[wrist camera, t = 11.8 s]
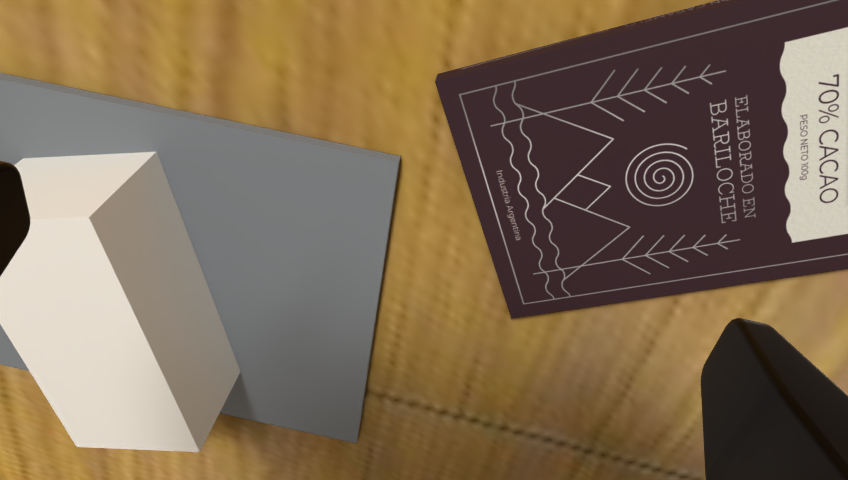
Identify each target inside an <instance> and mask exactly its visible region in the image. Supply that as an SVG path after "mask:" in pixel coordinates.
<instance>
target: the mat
mask: <svg viewBox="0 0 848 480" xmlns="http://www.w3.org/2000/svg"><path fill="white" fill-rule="evenodd" d="M139 152H157V154H158V157H159V160H160V162H161V165H162V167H163V170H164V173H165V175H166V178H167V180H168V183H169V186H170V188H171V191H172V194H173V196H174V199H175V201H176V204H177V207H178V209H179V212H180V214H181V217H182V220H183V222H184V225H185V228H186V230H187V233H188V235H189V238H190V241H191V243H192V246H193V249H194V251H195V254H196V256H197V259H198V262H199V264H200V267H201V269H202V272H203V275H204V277H205V280H206V283H207V285H208V288H209V290H210V293H211V296H212V298H213V301H214V303H215V306H216V309H217V311H218V314H219V317H220V319H221V322H222V324H223V327H224V330H225V332H226V335H227V337H228V340H229V343H230V345H231V348H232V351H233V353H234V356H235V358H236V361H237V364H238V366H239V369H240V371H241V372H240V374H239V376H238V378H237V380H236V382H235V384H234V385H233V387H232V389H231V391H230V393H229V395H228V397H227V399H226V401H225V403H224V405H223V407H222V409H221V411H220V413H221V414H226V415H230V416H235V417H239V418H244V419H248V420H253V421H257V422H262V423H266V424H271V425H275V426H280V427H284V428H289V429H293V430H298V431H302V432H307V433H311V434H316V435H320V436H325V437H330V438H334V439H339V440H343V441H348V442H352V443H357V440H358V436H359V430H360V423H361V417H362V410H363V403H364V397H365V390H366V384H367V377H368V370H369V364H370V357H371V351H372V344H373V337H374V331H375V324H376V318H377V311H378V304H379V298H380V291H381V285H382V278H383V271H384V265H385V258H386V251H387V245H388V238H389V232H390V225H391V218H392V212H393V205H394V199H395V192H396V185H397V179H398V172H399V166H400V159H401V156H397V155H392V154H387V153H383V152H378V151H373V150H368V149H363V148H359V147H354V146H349V145H344V144H339V143H335V142H330V141H325V140H320V139H315V138H311V137H306V136H301V135H296V134H291V133H287V132H282V131H277V130H272V129H267V128H263V127H258V126H253V125H248V124H244V123H239V122H234V121H229V120H224V119H220V118H215V117H210V116H205V115H200V114H196V113H191V112H186V111H181V110H176V109H172V108H167V107H162V106H157V105H152V104H148V103H143V102H138V101H133V100H128V99H124V98H119V97H114V96H109V95H104V94H100V93H95V92H90V91H85V90H80V89H76V88H71V87H66V86H61V85H56V84H52V83H47V82H42V81H37V80H32V79H28V78H23V77H18V76H13V75H9V74H4V73H0V161H4V162H9V163H11V164H13V165H15V164H16V163H18V162H19V161H20V160H22V159H23V158H40V157H60V156H80V155H100V154H120V153H139ZM0 364H1V365H5V366H10V367H14V368H19V369H23V370H28V371H29V369H28V368H27V366H26V365H25V363H24V361H23V360H22V358H21V357H20V355H19V353H18V352H17V350H16V348H15V347H14V345H13V344H12V342H11V340H10V339H9V337H8V336H7V334H6V332H5V331H4V329H3V328H2V326H1V324H0Z"/></svg>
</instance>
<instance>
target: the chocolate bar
mask: <svg viewBox="0 0 848 480" xmlns="http://www.w3.org/2000/svg"><path fill="white" fill-rule="evenodd" d="M435 83H436V86H437V89H438V92H439V95H440V98H441V101H442V104H443V108H444V111H445V114H446V117H447V120H448V123H449V126H450V129H451V132H452V135H453V139H454V142H455V145H456V148H457V151H458V154H459V157H460V160H461V163H462V167H463V170H464V173H465V176H466V179H467V182H468V185H469V188H470V191H471V194H472V198H473V201H474V204H475V207H476V210H477V213H478V216H479V219H480V222H481V225H482V229H483V232H484V235H485V238H486V241H487V244H488V247H489V250H490V253H491V256H492V260H493V263H494V266H495V269H496V272H497V275H498V278H499V281H500V284H501V287H502V291H503V294H504V297H505V300H506V303H507V306H508V309H509V312H510V315H511V318H519V317H526V316H532V315H539V314H546V313H553V312H559V311H566V310H573V309H580V308H586V307H593V306H600V305H607V304H613V303H620V302H627V301H634V300H640V299H647V298H654V297H661V296H667V295H674V294H681V293H688V292H694V291H701V290H708V289H715V288H721V287H728V286H735V285H742V284H748V283H755V282H762V281H769V280H775V279H782V278H789V277H796V276H802V275H809V274H816V273H822V272H829V271H836V270H843V269H848V0H718V1H714V2H710V3H707V4H703V5H699V6H695V7H691V8H688V9H684V10H680V11H676V12H672V13H669V14H665V15H661V16H657V17H653V18H650V19H646V20H642V21H638V22H634V23H631V24H627V25H623V26H619V27H615V28H611V29H608V30H604V31H600V32H596V33H592V34H589V35H585V36H581V37H577V38H573V39H570V40H566V41H562V42H558V43H554V44H551V45H547V46H543V47H539V48H535V49H532V50H528V51H524V52H520V53H516V54H513V55H509V56H505V57H501V58H497V59H493V60H490V61H486V62H482V63H478V64H474V65H471V66H467V67H463V68H459V69H455V70H452V71H448V72H444V73H440V74H437V77H436V80H435Z"/></svg>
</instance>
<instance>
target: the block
mask: <svg viewBox="0 0 848 480" xmlns="http://www.w3.org/2000/svg"><path fill="white" fill-rule="evenodd" d="M14 166H15V167H16V168H17V169H18V171H19V172H20V175H21V179H22V183H23V188H24V192H25V196H26V201H27V205H28V209H29V213H30V228H29V232H28V234H27V236H26V238H25V240H24V241H23V243H22V244H21V246H20V248H19V249H18V251H17V252H16V254H15V255H14V257H13V258H12V260H11V261H10V263H9V264H8V266H7V267H6V269H5V270H4V272H3V273H2V275H1V277H0V324H1V326H2V328H3V329H4V331H5V332H6V334H7V336H8V337H9V339H10V340H11V342H12V344H13V345H14V347H15V348H16V350H17V352H18V353H19V355H20V357H21V358H22V360H23V361H24V363H25V365H26V366H27V368H28V369H29V371H30V373H31V374H32V376H33V377H34V379H35V381H36V382H37V384H38V385H39V387H40V389H41V390H42V392H43V393H44V395H45V397H46V398H47V400H48V401H49V403H50V405H51V406H52V408H53V409H54V411H55V413H56V414H57V416H58V417H59V419H60V421H61V422H62V424H63V425H64V427H65V429H66V430H67V432H68V433H69V435H70V437H71V438H72V440H73V441H74V443H75V445H76V446H77V447H92V448H116V449H139V450H163V451H187V452H200V451H201V449H202V447H203V445H204V443H205V441H206V439H207V437H208V435H209V433H210V431H211V429H212V427H213V425H214V423H215V421H216V419H217V417H218V415H219V413H220V411H221V409H222V407H223V405H224V403H225V401H226V399H227V397H228V395H229V393H230V391H231V389H232V387H233V385H234V384H235V382H236V380H237V378H238V376H239V374H240V372H241V371H240V369H239V366H238V364H237V361H236V358H235V356H234V353H233V351H232V348H231V345H230V343H229V340H228V337H227V335H226V332H225V330H224V327H223V324H222V322H221V319H220V317H219V314H218V311H217V309H216V306H215V303H214V301H213V298H212V296H211V293H210V290H209V288H208V285H207V283H206V280H205V277H204V275H203V272H202V269H201V267H200V264H199V262H198V259H197V256H196V254H195V251H194V249H193V246H192V243H191V241H190V238H189V235H188V233H187V230H186V228H185V225H184V222H183V220H182V217H181V214H180V212H179V209H178V207H177V204H176V201H175V199H174V196H173V194H172V191H171V188H170V186H169V183H168V180H167V178H166V175H165V173H164V170H163V167H162V165H161V162H160V160H159V157H158V154H157V152H139V153H120V154H100V155H80V156H60V157H40V158H23V159H22V160H20V161H19V162H18V163H16V164H15V165H14Z"/></svg>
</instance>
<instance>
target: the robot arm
mask: <svg viewBox="0 0 848 480" xmlns="http://www.w3.org/2000/svg"><path fill="white" fill-rule="evenodd" d="M29 228H30V213H29V209H28V205H27V201H26V196H25V192H24V188H23V183H22V179H21V175H20V172H19V171H18V169H17V168H16V167H15V166H14V165H13V164H11V163H9V162H4V161H0V277H1V275H2V273H3V272H4V270H5V269H6V267H7V266H8V264H9V263H10V261H11V260H12V258H13V257H14V255H15V254H16V252H17V251H18V249H19V248H20V246H21V244H22V243H23V241H24V240H25V238H26V236H27V234H28V232H29ZM701 397H702V417H703V436H704V456H705V475H706V480H848V396H847V395H846V394H845V393H844V392H843V391H842V390H841V389H840V388H839V387H837V386H836V385H835V384H834V383H833V382H832V381H831V380H830V379H829V378H828V377H826V376H825V375H824V374H823V373H822V372H821V371H820V370H819V369H818V368H817V367H815V366H814V365H813V364H812V363H811V362H810V361H809V360H808V359H807V358H806V357H804V356H803V355H802V354H801V353H800V352H799V351H798V350H797V349H796V348H795V347H793V346H792V345H791V344H790V343H789V342H788V341H787V340H786V339H785V338H784V337H782V336H781V335H780V334H779V333H778V332H777V331H776V330H775V329H774V328H772V327H771V326H770V325H767V324H764V323H760V322H755V321H750V320H746V319H741V318H737V319H734V320H732V321H731V322H729V323H728V325H727V326H726V327H725V329H724V331H723V333H722V334H721V336H720V338H719V340H718V341H717V343H716V345H715V347H714V348H713V350H712V352H711V353H710V355H709V357H708V359H707V360H706V362H705V364H704V367H703V370H702V375H701Z"/></svg>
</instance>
